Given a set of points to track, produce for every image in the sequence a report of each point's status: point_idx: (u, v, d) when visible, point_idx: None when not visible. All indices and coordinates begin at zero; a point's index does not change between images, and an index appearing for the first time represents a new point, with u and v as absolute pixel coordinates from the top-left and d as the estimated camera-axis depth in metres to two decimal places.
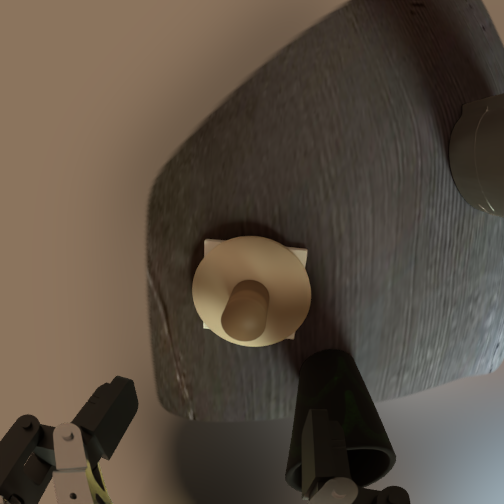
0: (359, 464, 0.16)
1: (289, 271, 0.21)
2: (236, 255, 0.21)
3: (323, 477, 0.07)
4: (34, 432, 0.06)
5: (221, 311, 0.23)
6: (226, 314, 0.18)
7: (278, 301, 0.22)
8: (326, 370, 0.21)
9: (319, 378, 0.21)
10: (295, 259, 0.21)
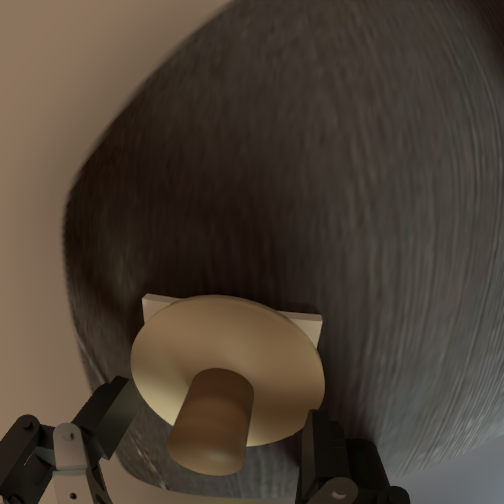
0: None
1: (288, 358, 0.11)
2: (193, 330, 0.11)
3: (323, 477, 0.07)
4: (34, 432, 0.06)
5: (179, 404, 0.13)
6: (173, 444, 0.08)
7: (269, 398, 0.12)
8: None
9: None
10: (300, 340, 0.11)
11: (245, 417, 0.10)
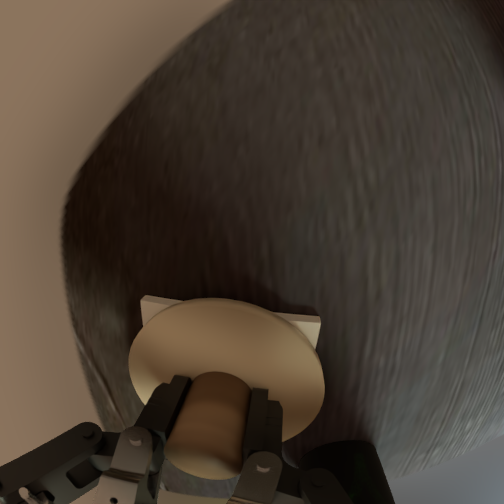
0: None
1: (288, 361, 0.11)
2: (191, 334, 0.11)
3: (251, 450, 0.08)
4: (97, 440, 0.07)
5: None
6: (171, 448, 0.08)
7: None
8: None
9: None
10: (300, 343, 0.11)
11: (244, 421, 0.10)
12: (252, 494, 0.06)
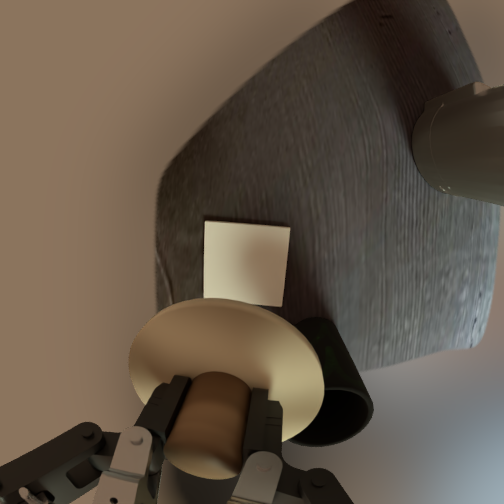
0: (343, 418, 0.21)
1: (287, 361, 0.11)
2: (191, 334, 0.11)
3: (251, 450, 0.08)
4: (97, 441, 0.07)
5: None
6: (171, 448, 0.08)
7: None
8: (310, 332, 0.26)
9: None
10: (299, 343, 0.11)
11: (244, 421, 0.10)
12: (252, 494, 0.06)
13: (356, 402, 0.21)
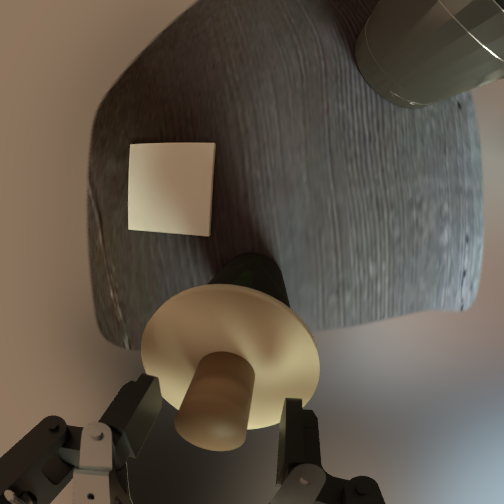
0: None
1: (286, 341, 0.13)
2: (200, 316, 0.13)
3: (292, 463, 0.07)
4: (61, 433, 0.07)
5: (185, 388, 0.14)
6: (181, 419, 0.10)
7: (269, 380, 0.13)
8: (236, 262, 0.22)
9: (226, 267, 0.21)
10: (297, 324, 0.12)
11: (247, 395, 0.11)
12: None
13: None
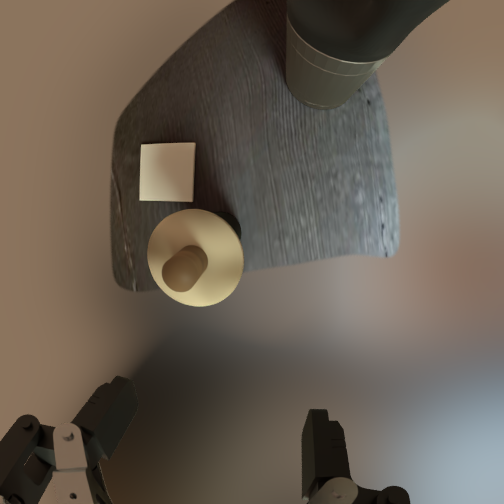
0: None
1: (222, 236, 0.25)
2: (179, 225, 0.26)
3: (323, 477, 0.07)
4: (34, 432, 0.06)
5: None
6: (165, 267, 0.23)
7: (215, 263, 0.26)
8: None
9: None
10: (226, 226, 0.25)
11: (200, 261, 0.24)
12: None
13: None
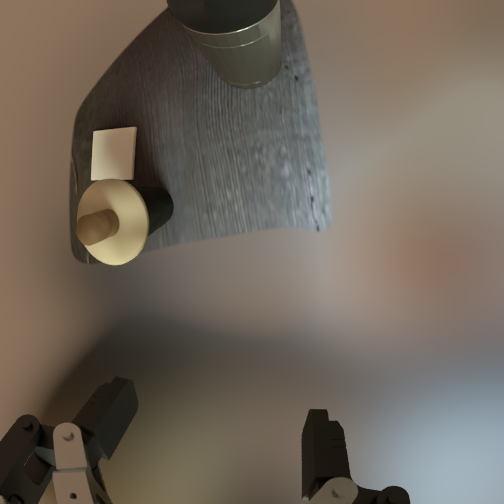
0: None
1: (129, 200, 0.27)
2: (99, 192, 0.27)
3: (323, 477, 0.07)
4: (34, 432, 0.06)
5: None
6: (78, 224, 0.24)
7: (125, 225, 0.28)
8: None
9: None
10: (132, 191, 0.27)
11: (107, 220, 0.25)
12: None
13: None
